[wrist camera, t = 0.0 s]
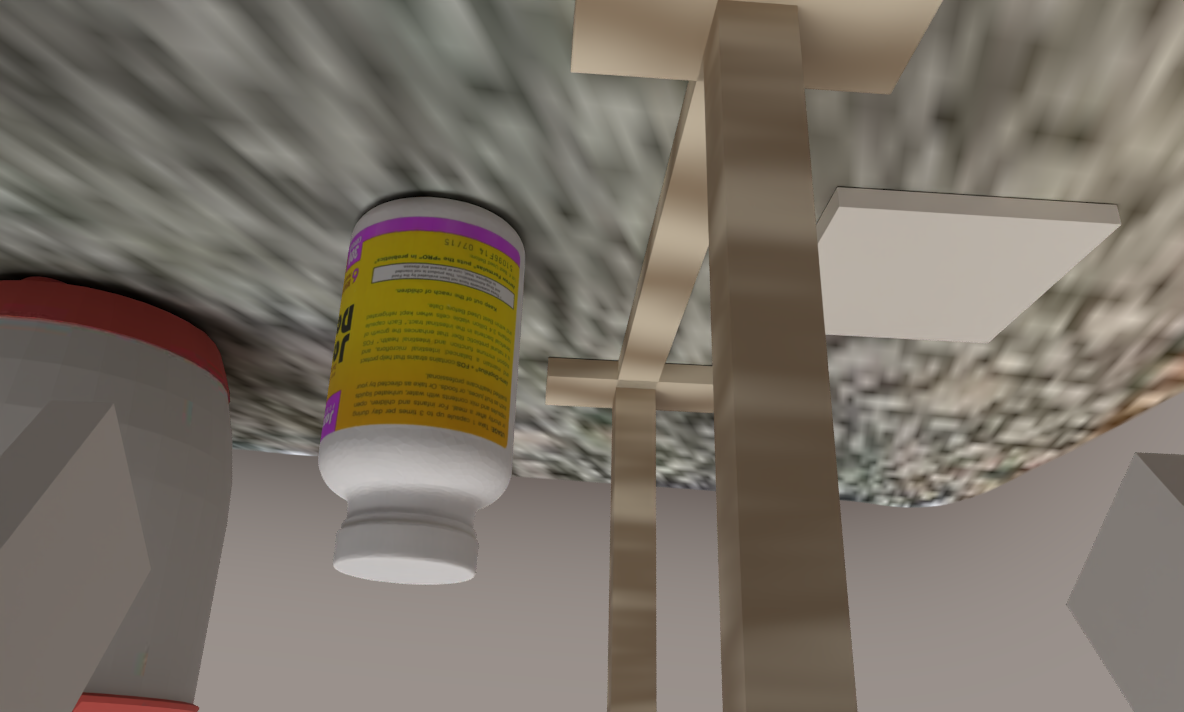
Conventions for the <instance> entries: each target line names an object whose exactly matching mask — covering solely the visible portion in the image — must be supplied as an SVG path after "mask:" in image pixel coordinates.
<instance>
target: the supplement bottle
mask: <svg viewBox="0 0 1184 712" xmlns="http://www.w3.org/2000/svg"><path fill="white" fill-rule="evenodd" d="M524 274H525V250H524V246H523V243H522V241H521V239H520V237H519V236H518V234H517V233H516V231H515V230H514V229H513V228H512V227H511V226H510V225H509V224H508V223H507V222H506V221H504V220H503V219H502V218H500V217H499V216H497V215H495V214H494V213H492V212H490V211H488V210H486V209H484V208H481V207H479V206H476V205H473V204H470V203H466V202H462V201H457V200H453V199H446V198H437V197H411V198H404V199H398V200H393V201H389V202H386V203H383V204H381V205H378V206H376V207H374V208H373V209H371V210H370V211H368V212H367V213H366V214H364V215H363V216H362V217H361V218H360V220H359V221H358V222H357V224H356V225H355V227H354V230H353V232H352V236H351V241H350V247H349V252H348V259H347V266H346V272H345V279H344V286H343V293H342V299H341V306H340V313H339V320H338V327H337V334H336V340H335V347H334V354H333V360H332V368H331V374H330V382H329V389H328V395H327V402H326V410H325V417H324V423H323V429H322V435H321V441H320V449H319V457H318V462H319V469H320V472H321V475H322V477H323V479H324V481H325V483H326V484H327V485H328V487H329V488H330V489H331V490H332V491H333V492H335V493H336V494H337V495H338V496H340V497H341V498H343V499H345V500H347V503H348V508H347V519H346V520H344V521H343V523H342V527H341V529H340V530H339V531H337V534H336V543H335V552H334V560H333V566H334V568H335V569H336V570H338V571H340V572H342V573H344V574H347V575H351V576H354V577H358V578H363V579H368V580H374V581H381V582H392V583H401V584H429V585H431V584H450V583H459V582H464V581H467V580H470V579H472V578H473V577H474V576H475V573H476V565H477V556H478V549H479V543H478V541H477V540H476V536H477V534H476V531H475V530H474V529H473V525H474V518H475V513H476V511H477V510H480V509H482V508H484V507H487V506H488V505H490V504H491V503H493V502H494V501H496V500H497V499H498V498H499V497H500V496H501V495H502V494H503V492H504V491H505V490H506V488H507V486H508V484H509V481H510V477H511V473H512V460H513V442H514V425H515V410H516V395H517V380H518V365H519V350H520V335H521V320H522V306H523V290H524Z"/></svg>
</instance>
